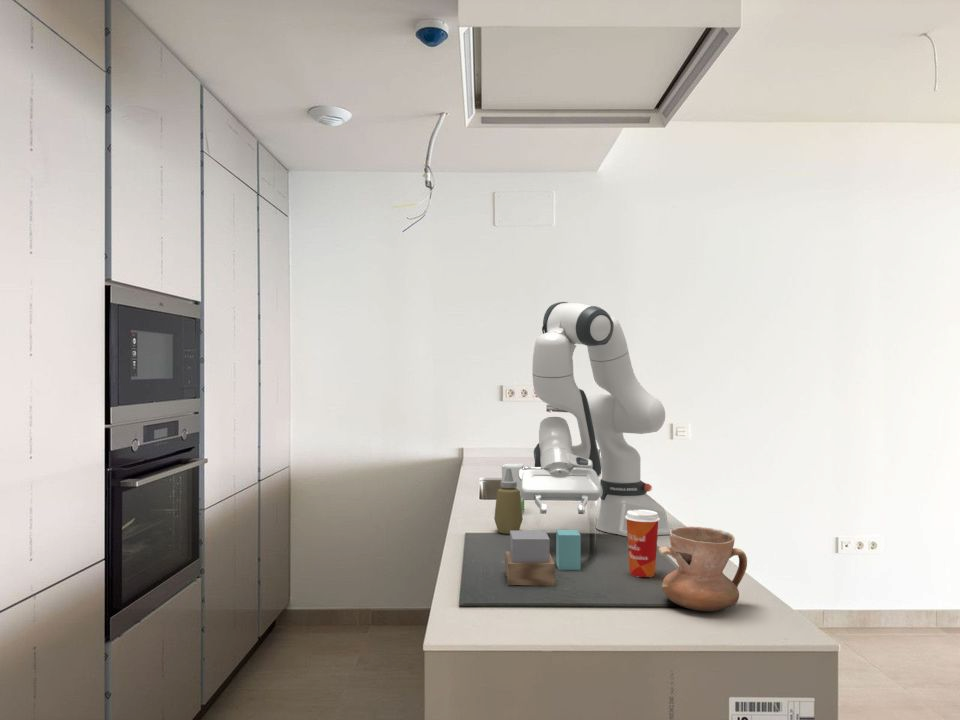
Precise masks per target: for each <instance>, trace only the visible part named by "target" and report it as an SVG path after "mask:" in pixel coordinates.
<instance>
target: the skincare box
mask: <svg viewBox="0 0 960 720" xmlns="http://www.w3.org/2000/svg"><path fill="white" fill-rule="evenodd" d="M524 467H525V464H524V463H505V464H503V465H502V466H501V481H504V479H505V474H506V470H507V468H510V469H511V472H512V477H513V481H516V482H517V487H516V488H517V489H518V490H519V491H520V496H521V482H522V481H520V479H519V470H520V469H522V468H524ZM521 507H522V514H524V512H525V500H524V499H523V498H522V497H521ZM523 511H524V512H523Z"/></svg>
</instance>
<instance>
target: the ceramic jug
mask: <svg viewBox="0 0 960 720" xmlns="http://www.w3.org/2000/svg"><path fill="white" fill-rule="evenodd" d="M735 539H736V537H735V536H734V534H732V533H730V532H727V531H724V530H722V529H718V528H712V527H703V526H691V525H690V526H681V527H680V526H679V527H675V528H673V529H671V530H670V534H669V540H670V546H671V547H670V546H661V547H660V548H658V553H659V555H660V556H667V555H668V556H670V557H672V558H673V559H675V561H676V563H677V566H678V568H676V569H675V570H673V571H671V572H670V573H668V574H666V575H665V577H664V578H663V580H662V583H661V590H662V592H663V594H664V596H665V597H666V598H667V599H668V600H669V601H671V602H673V604H675V605H677V606H680V607H682V608H686V609H688V610H693V611H698V612H718V611H719V612H720V611H723V610H727V609H729V608H731V607H733V606H735V605H736V604H737V602H738V600H739V597H740V590H739V589H738V587H739V585H740V583H741V582H742V580H743V578H744V576H745V573H746V570H747V568H748V557H747V555H746V553H745V552H744V550H742V549H740V548H737V547H734V545H735ZM734 556H738V567H737V570H736V572H735V575H734V577H733V579H730V578H729V577H728V576H726V574H724V572H723V571H724V569H725V567H726V566H727V563H728V562H729V559H731V558H732V557H734Z"/></svg>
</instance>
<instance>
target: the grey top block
mask: <svg viewBox="0 0 960 720" xmlns="http://www.w3.org/2000/svg"><path fill="white" fill-rule="evenodd" d="M550 543H551V542H550V537H549V536H548V533H547V531H546V530H519V531H510V534H509V551H510V555H511V559H512V562H513V563H535V562H550V554H551V553H550V551H551V549H550V546H551V544H550Z"/></svg>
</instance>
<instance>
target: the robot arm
mask: <svg viewBox="0 0 960 720" xmlns="http://www.w3.org/2000/svg"><path fill="white" fill-rule="evenodd" d="M541 332H542V334H541V335H539V336H537V338H536V340H535V341H534V348H533V354H532V368H531V369H532V374H531V375H532V385H533V391H534V393H535V394H536V396H537V398H538V399H540V400H541V401H542V402H544V403H545V404H547V405H549V406H551V407H552V408H553V407H555V408H557V409H559V410H563V411H565V412H568V413H570V414H572V415H573V416H574V417H575V419H576V421H577V426H578V432H579V436H580V442H581V443H580V444H577V445H573V440H572V434H571V430H570V426H569V424H568V421H567V420H566V419H565V418H564V417H560V416H550V417H549V416H548V417H546V418H544V419H542V420H541V421H540V423H539V430H538V442H537V444H536V446H535V447H534V449H533V458H534V466H524V468H522V469H520V470H519V479H520V481H522V482H521V497H522V498H523V499H524V501H534V503H535V505H536V506H537V507H538V509H539V513H540V514H542V515H546V514H547V504H544V503H543V502H542V501H581V502H580V503H581V504H578V506H577V513H578V515H585V513H586V506H587V504H588V501H589V502H590V501H591V502H593V501H595V502H596V501H598V500H599V499H600V504H599V505H600V506H599V513H598V517H597V518H598V519H597V522H596V525H595V528H596V529H597V530H599V531H601V532H606V533H609V534H615V535H616V534H617V535H619V536H624V537H627V519H626V518H625V516H626V515H627V512H628V511H629V510H631V511H632V510H650V511H654V512H657V513H658V517H659V518H660V520H659V521H658V534H657V536H662V535H663V536H666V535H670V530H671V529H673V528H676V527H675V526H674V525H673V524H672V523H670V522H669V519H668V515H667V512H666V509H665V508H664V507H663V506H662V505H661V504H660V503H658V502H657V501H656V500H655V499H654V498H652V497H651V496H650V495H649V494H647V493H648V492H651V491H652V489H653V487H652V484H650V483H646V482H645V481H643V480H641V455H640V453H639V451H638V450H637V449H636V448H635V447H633V446H632V445H630V444H629V443H628V442H627V441H626V439H625V437H624V434H634V435H635V434H637V435H643V434H651V433H657V432H658V431H660V429H662V427H663V426H664V423H665V422H666V421H665V420H666V410H665V407H664V405H663V404H662V401H660V400H659V399H658V398H657V397H654V396H653V395H652V394H650V393H649V392H648V391H647V390H646V389H645V388H644V387H643V386H642V385H641V383H640V382H639V380H638V378H637V377H636V375H635V373H634V369H633V365H632V362H631V357H630V353H629V347H628V343H627V340H626V339H627V338H626V336H625V334H624V330H623V329H622V326H621V324H620V321H619V320H618V319H617V318H616V317H614V316H613V315H610V314H609V313H608V312H607V311H606V310H605V309H603V308H601V307H599V306H598V305H597V306H596V305H590V304H586V303H582V302H567V301H558V302H555V303H552V304H551V305H550V306H549V307H548V308H547V310H545V312H544V315H543V319H542V327H541ZM577 345H584V346H586V347H587V352H588V358H589V362H590V367H591V372H592V377H593V380H594V382H595V383H596V385H597V386H598V387H600V388H601V389H603V390H605V391H606V392H608V393H609V394H602V393H601V394H596V395H591V396H587V394H586V393H585V391H584V390H583V389H581V388H579V387H578V385H577V383H576V380H575V376H574V360H573V359H574V358H573V356H574V352H575V349H576V347H577ZM597 444H598V446H597ZM598 448H599V449H598ZM600 475H601V478H599V476H600Z"/></svg>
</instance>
